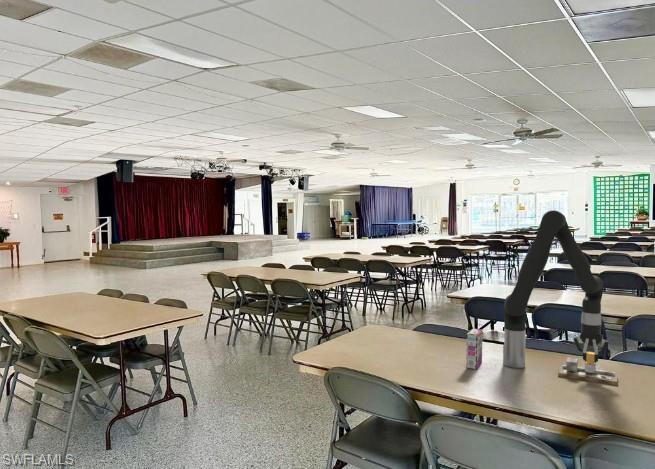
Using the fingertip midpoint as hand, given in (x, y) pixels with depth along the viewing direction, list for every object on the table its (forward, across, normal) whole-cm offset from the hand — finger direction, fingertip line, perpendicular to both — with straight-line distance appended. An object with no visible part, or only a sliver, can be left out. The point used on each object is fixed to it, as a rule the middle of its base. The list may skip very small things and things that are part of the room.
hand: (590, 361), depth 204 cm
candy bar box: (+7, +47, +9) cm, 48 cm away
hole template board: (+7, +1, 0) cm, 7 cm away
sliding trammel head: (+5, 0, 0) cm, 5 cm away
